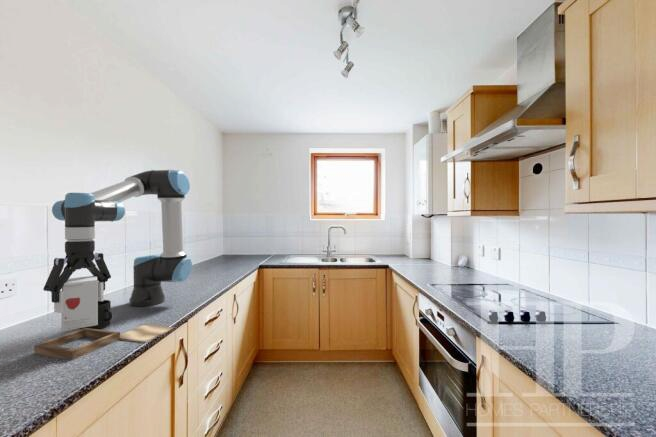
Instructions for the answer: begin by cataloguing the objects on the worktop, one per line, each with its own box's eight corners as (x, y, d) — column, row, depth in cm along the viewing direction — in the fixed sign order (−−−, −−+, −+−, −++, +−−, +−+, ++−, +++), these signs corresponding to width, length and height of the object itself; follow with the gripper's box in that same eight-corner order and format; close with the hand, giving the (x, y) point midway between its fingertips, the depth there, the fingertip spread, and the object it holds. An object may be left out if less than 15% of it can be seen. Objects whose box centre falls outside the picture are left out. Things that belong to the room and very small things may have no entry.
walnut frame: (85, 334, 107) (85, 327, 107) (120, 339, 104) (120, 332, 104) (34, 353, 92) (34, 345, 92) (72, 359, 89) (72, 351, 89)
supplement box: (61, 332, 92) (60, 283, 92) (62, 323, 99) (62, 278, 99) (98, 325, 98) (98, 279, 97) (97, 317, 105) (97, 274, 104)
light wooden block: (145, 325, 117) (145, 324, 117) (173, 329, 113) (173, 327, 113) (114, 338, 104) (114, 337, 104) (145, 343, 101) (145, 341, 101)
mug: (100, 332, 110) (100, 307, 110) (72, 330, 112) (72, 305, 112) (122, 323, 119) (122, 300, 119) (96, 321, 121) (96, 299, 121)
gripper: (106, 237, 111) (106, 295, 111) (26, 243, 87) (27, 317, 87) (123, 237, 109) (123, 297, 109) (45, 244, 85) (46, 319, 86)
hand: (80, 306), depth 98 cm, fingers closed on supplement box, 12 cm apart
